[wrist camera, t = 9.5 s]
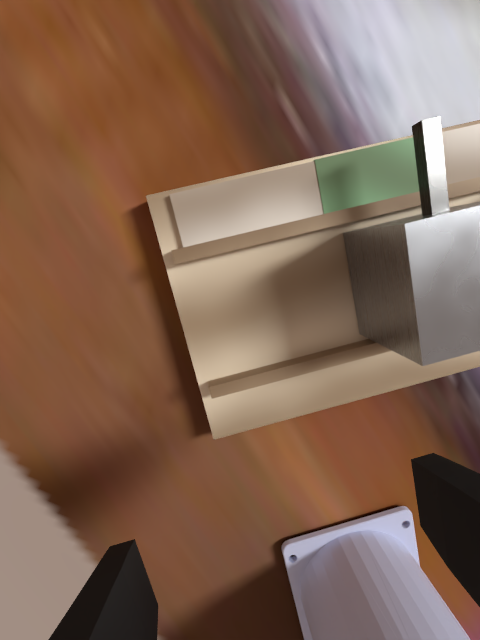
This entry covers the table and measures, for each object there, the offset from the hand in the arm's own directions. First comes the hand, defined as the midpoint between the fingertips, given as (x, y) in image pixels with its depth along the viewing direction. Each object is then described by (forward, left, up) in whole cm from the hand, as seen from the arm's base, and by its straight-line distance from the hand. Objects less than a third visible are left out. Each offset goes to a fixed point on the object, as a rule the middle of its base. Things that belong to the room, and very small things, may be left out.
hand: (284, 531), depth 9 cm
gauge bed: (+4, -9, -10) cm, 14 cm away
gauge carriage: (+6, -9, -9) cm, 14 cm away
